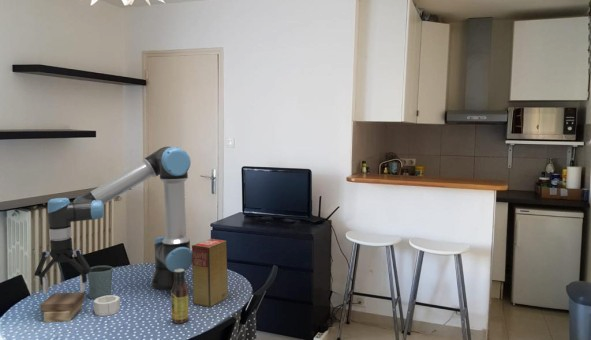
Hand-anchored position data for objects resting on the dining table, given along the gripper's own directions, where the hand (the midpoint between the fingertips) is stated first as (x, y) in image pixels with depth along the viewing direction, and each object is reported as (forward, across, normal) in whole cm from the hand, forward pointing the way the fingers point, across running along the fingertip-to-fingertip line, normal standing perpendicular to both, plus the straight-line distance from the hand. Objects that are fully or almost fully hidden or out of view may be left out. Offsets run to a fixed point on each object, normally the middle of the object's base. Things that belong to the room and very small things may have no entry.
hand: (64, 291), depth 178 cm
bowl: (+9, -15, -1) cm, 18 cm away
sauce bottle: (+10, -45, +11) cm, 48 cm away
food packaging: (+11, -55, -9) cm, 57 cm away
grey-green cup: (+10, -7, -20) cm, 23 cm away
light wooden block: (+9, +1, 0) cm, 9 cm away
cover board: (+6, +1, 0) cm, 6 cm away
